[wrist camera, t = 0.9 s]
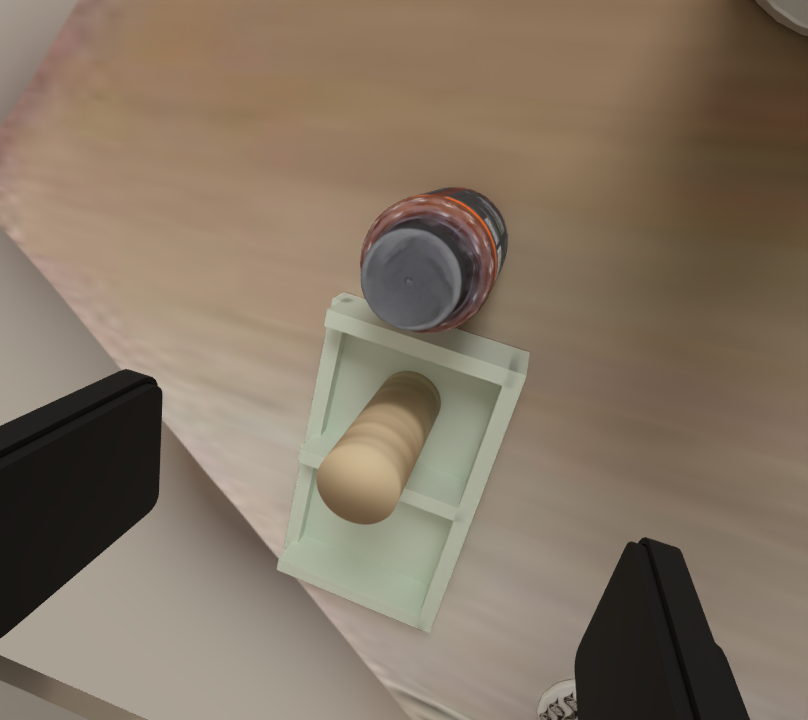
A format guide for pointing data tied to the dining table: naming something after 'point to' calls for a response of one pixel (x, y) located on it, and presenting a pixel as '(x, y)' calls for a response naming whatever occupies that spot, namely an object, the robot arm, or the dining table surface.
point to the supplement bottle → (433, 259)
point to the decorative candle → (559, 702)
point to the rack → (431, 476)
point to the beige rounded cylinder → (379, 450)
